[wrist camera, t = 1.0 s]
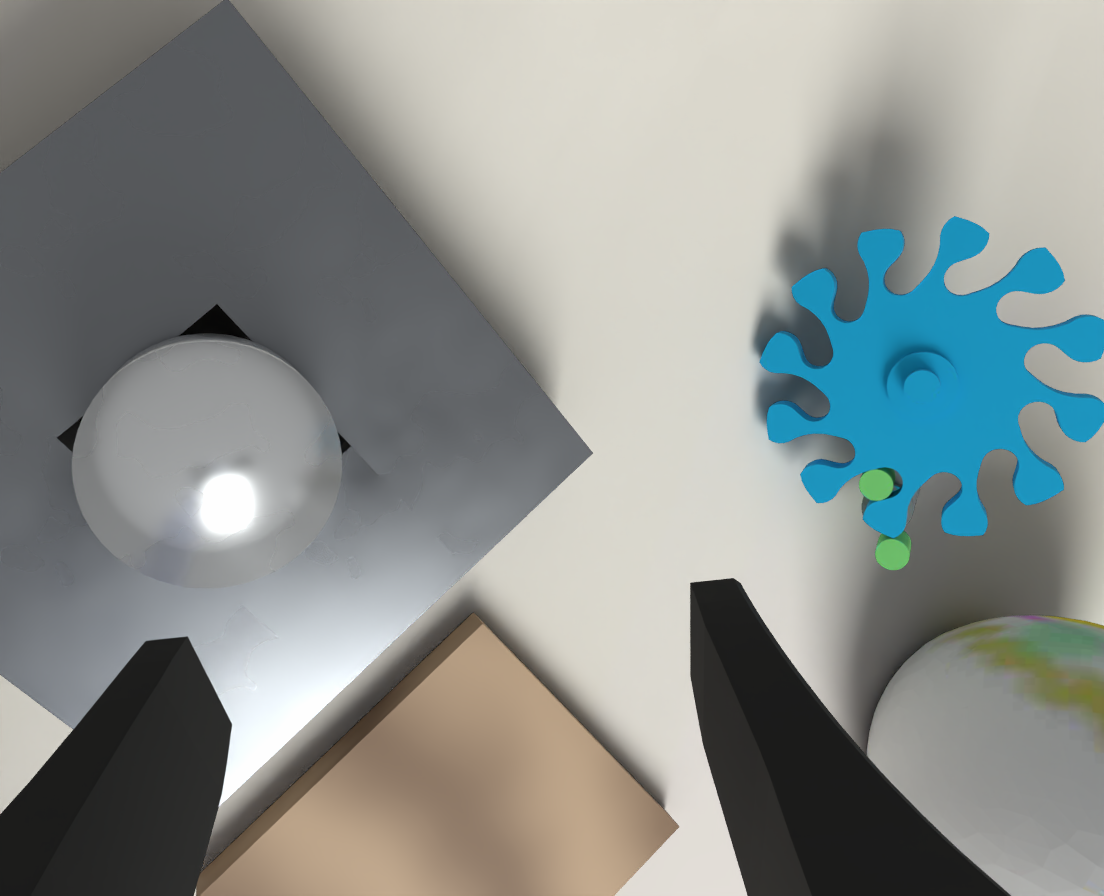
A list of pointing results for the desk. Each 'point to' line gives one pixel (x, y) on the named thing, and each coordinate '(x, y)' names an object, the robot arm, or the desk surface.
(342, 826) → the pad
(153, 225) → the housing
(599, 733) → the desk surface
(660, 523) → the desk surface
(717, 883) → the desk surface
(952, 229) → the gear
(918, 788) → the decorative egg
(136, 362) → the end cover
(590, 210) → the desk surface
